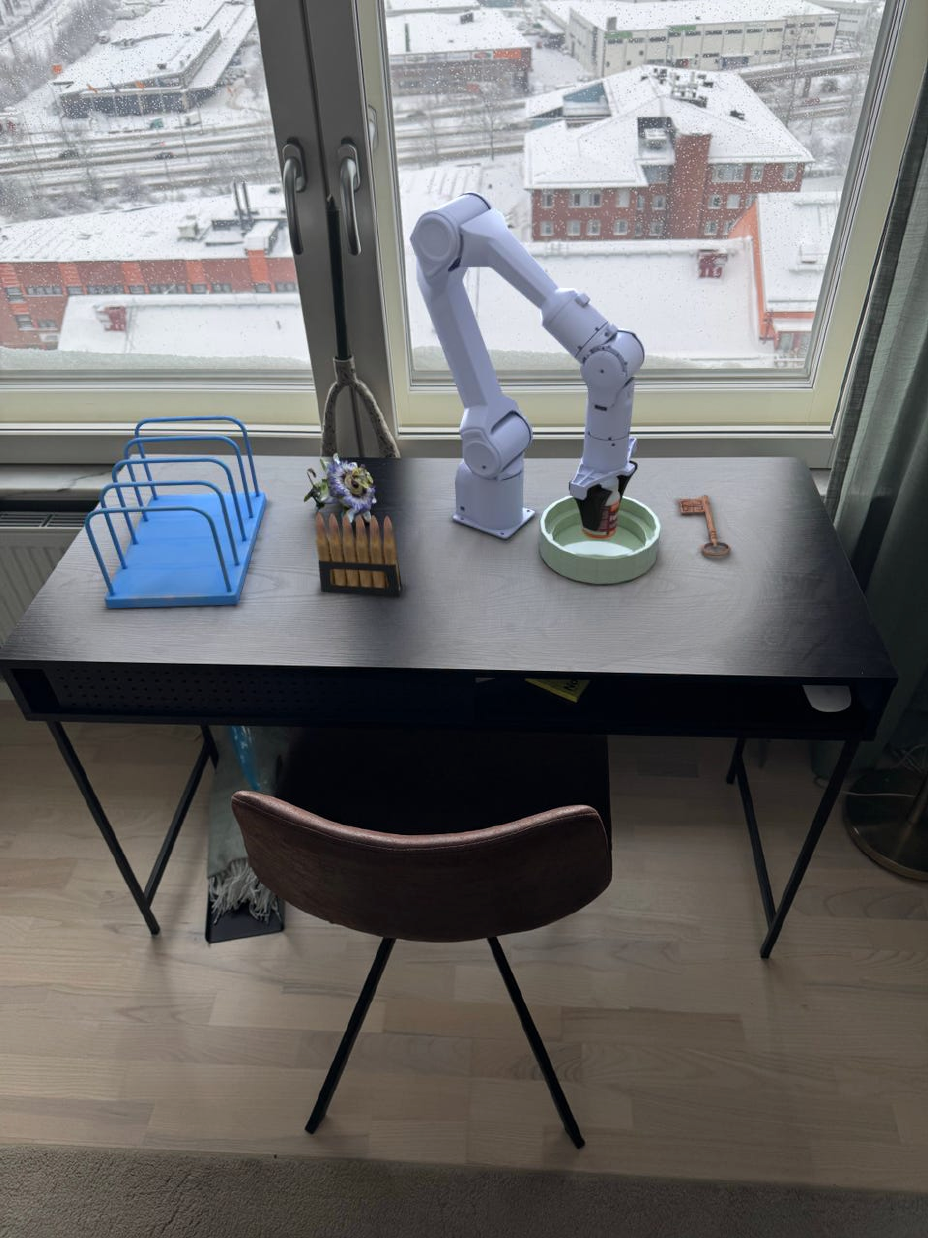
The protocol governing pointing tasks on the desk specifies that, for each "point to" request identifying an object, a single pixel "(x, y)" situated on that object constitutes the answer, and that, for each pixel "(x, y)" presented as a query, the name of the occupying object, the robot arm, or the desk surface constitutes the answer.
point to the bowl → (599, 543)
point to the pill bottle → (607, 514)
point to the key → (712, 532)
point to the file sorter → (182, 533)
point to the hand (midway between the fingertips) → (599, 519)
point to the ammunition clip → (357, 558)
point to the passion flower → (344, 489)
